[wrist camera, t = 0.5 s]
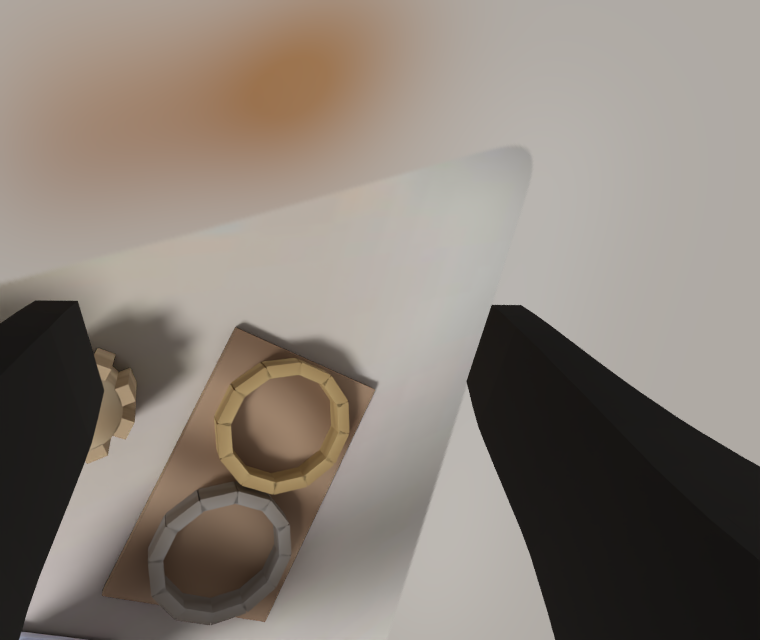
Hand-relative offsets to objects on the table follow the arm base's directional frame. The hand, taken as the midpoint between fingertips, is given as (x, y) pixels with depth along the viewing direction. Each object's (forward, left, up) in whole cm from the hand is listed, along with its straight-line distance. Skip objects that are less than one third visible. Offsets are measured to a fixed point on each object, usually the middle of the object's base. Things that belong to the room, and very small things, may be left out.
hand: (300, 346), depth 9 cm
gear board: (-11, -9, -23) cm, 27 cm away
